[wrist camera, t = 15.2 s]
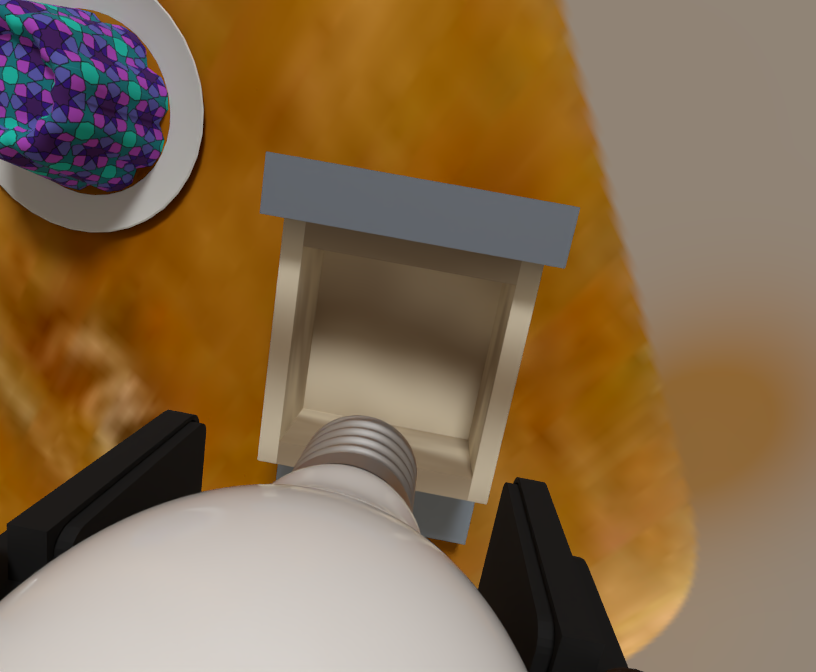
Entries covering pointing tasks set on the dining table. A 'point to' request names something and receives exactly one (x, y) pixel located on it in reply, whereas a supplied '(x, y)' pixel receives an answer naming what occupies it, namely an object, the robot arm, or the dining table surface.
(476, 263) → the box
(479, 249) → the base
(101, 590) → the lightbulb
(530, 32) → the dining table surface
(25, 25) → the pudding
